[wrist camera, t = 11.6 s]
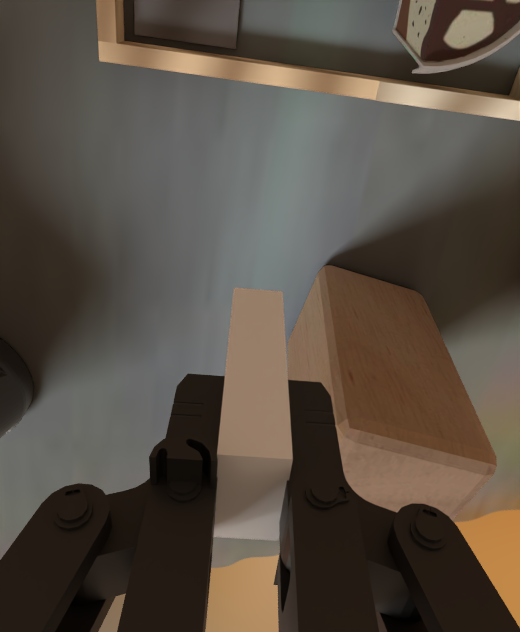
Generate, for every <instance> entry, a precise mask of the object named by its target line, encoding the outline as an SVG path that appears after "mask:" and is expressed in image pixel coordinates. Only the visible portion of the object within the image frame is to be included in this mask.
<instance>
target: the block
mask: <svg viewBox="0 0 520 632" xmlns="http://www.w3.org/2000/svg"><path fill="white" fill-rule="evenodd" d="M288 380H297V381H311V382H321V383H322V384H323V386H324V387H325V389H326V390H327V391H328V393H329V394H330V396H331V400H332V406H333V414H334V418H335V427H336V430H337V436H338V442H339V448H340V454H341V460H342V466H343V472H344V475H345V478H346V481H347V482H348V484H349V485H350V486H351V488H352V489H353V490H354V491H355V492H356V493H357V494H358V495H359V496H360V497H362V498H363V499H365V500H366V501H368V502H371V503H373V504H375V505H378V506H380V507H383V508H386V509H389V510H392V511H394V512H398V511H399V510H400V509H401V507H404V506H406V505H409V504H411V503H417V504H426V505H429V506H432V507H435V508H437V509H439V510H440V511H442V512H443V513H444V514H446V515H447V516H449V517H450V519H451V520H453V519H454V518H455V517H456V516H457V514H458V513H459V512H460V511H461V510H462V509H463V508H464V507H465V506H466V505H467V503H468V502H469V501H470V500H471V499H472V498H473V497H474V496H475V495H476V493H477V492H478V491H479V490H480V489H481V488H482V487H483V486H484V485H485V483H486V482H487V481H488V480H489V479H490V478H491V477H492V476H493V475H494V472H495V469H496V466H497V464H496V455H495V453H494V451H493V449H492V447H491V444H490V442H489V440H488V438H487V436H486V433H485V431H484V429H483V427H482V425H481V422H480V420H479V418H478V416H477V414H476V411H475V409H474V407H473V405H472V403H471V400H470V398H469V396H468V394H467V392H466V390H465V387H464V385H463V383H462V381H461V379H460V376H459V374H458V372H457V370H456V368H455V365H454V363H453V361H452V359H451V357H450V354H449V352H448V350H447V348H446V346H445V343H444V341H443V339H442V337H441V335H440V332H439V330H438V328H437V326H436V324H435V321H434V319H433V317H432V315H431V313H430V310H429V308H428V306H427V304H426V302H425V300H424V297H423V296H422V295H421V294H419V293H418V292H417V291H414V290H411V289H408V288H404V287H401V286H398V285H394V284H391V283H388V282H385V281H381V280H378V279H375V278H371V277H368V276H365V275H362V274H358V273H355V272H352V271H348V270H345V269H342V268H339V267H335V266H332V265H325V266H324V267H323V268H322V269H321V270H320V271H319V272H318V274H317V276H316V279H315V281H314V283H313V286H312V288H311V290H310V292H309V295H308V297H307V299H306V302H305V304H304V306H303V308H302V311H301V313H300V315H299V318H298V320H297V322H296V325H295V327H294V329H293V331H292V334H291V336H290V338H289V341H288Z"/></svg>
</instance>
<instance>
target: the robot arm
mask: <svg viewBox="0 0 520 632" xmlns="http://www.w3.org/2000/svg"><path fill="white" fill-rule="evenodd" d="M32 397H33V383H32V379H31V376H30V373H29V371H28V369H27V367H26V365H25V364H24V362H23V361H22V359H21V358H20V357H19V356H18V354H17V353H16V352H15V351H14V350H13V349H12V348H11V347H10V346H9V345H7V344H6V343H5V342H4V341H2V340H1V339H0V438H1V437H2V436H3V435H5V434H6V433H8V432H9V431H10V430H12V429H13V428H14V427H15V426H16V425H17V424H18V423H19V422H20V420H21V419H22V417H23V416H24V414H25V412H26V411H27V409H28V407H29V406H30V404H31V401H32ZM149 463H150V479H148V480H147V481H146V482H145V483H143V484H141V485H139V486H138V487H135V488H132V489H129V490H126V491H122V492H117V493H113V494H108V495H105V493H104V492H103V491H102V490H101V489H99V488H97V487H95V486H93V485H89V484H74V485H69V486H65V487H63V488H61V489H59V490H57V491H56V492H54V493H52V494H51V495H50V496H49V497H48V498H47V499H46V500H45V501H44V502H43V503H42V504H41V505H40V507H39V508H38V510H37V511H36V512H35V514H34V515H33V516H32V518H31V519H30V520H29V522H28V523H27V525H26V526H25V527H24V529H23V530H22V531H21V533H20V534H19V536H18V537H17V538H16V540H15V541H14V542H13V544H12V545H11V546H10V548H9V549H8V551H7V552H6V553H5V555H4V556H3V557H2V559H1V560H0V632H98V631H99V629H100V627H101V625H102V623H103V621H104V619H105V617H106V615H107V613H108V611H109V609H110V607H111V605H112V602H113V601H114V599H115V597H116V596H118V595H121V594H125V593H126V595H125V600H124V604H123V608H122V613H121V617H120V622H119V626H118V631H117V632H205V629H206V618H207V607H208V595H209V583H210V573H211V562H212V547H213V537H225V538H242V539H259V540H276V541H278V537H279V532H280V554H279V560H278V565H277V570H276V575H275V581H274V585H278V617H279V632H520V628H519V626H518V625H517V623H516V621H515V620H514V618H513V617H512V615H511V613H510V612H509V610H508V608H507V607H506V605H505V603H504V602H503V600H502V599H501V597H500V596H499V594H498V592H497V590H496V589H495V587H494V586H493V584H492V582H491V581H490V579H489V577H488V576H487V574H486V572H485V571H484V569H483V568H482V566H481V564H480V563H479V561H478V560H477V558H476V556H475V555H474V553H473V551H472V550H471V548H470V546H469V545H468V543H467V542H466V540H465V538H464V537H463V535H462V534H461V532H460V531H459V529H458V527H457V526H456V525H455V523H454V522H453V521H452V520H451V519H450V517H449V516H447V515H446V514H444V513H443V512H442V511H440V510H439V509H437V508H435V507H432V506H429V505H426V504H417V503H411V504H409V505H406V506H404V507H401V509H400V510H399V511H398V512H394V511H392V510H389V509H386V508H383V507H380V506H378V505H375V504H373V503H371V502H368V501H366V500H365V499H363V498H362V497H360V496H359V495H358V494H357V493H356V492H355V491H354V490H353V489H352V488H351V486H350V485H349V484H348V482H347V481H346V478H345V475H344V472H343V466H342V460H341V454H340V448H339V442H338V436H337V430H336V427H335V418H334V414H333V406H332V400H331V396H330V394H329V393H328V391H327V390H326V389H325V387H324V386H323V384H322V383H321V382H311V381H297V380H288V373H287V357H286V341H285V325H284V309H283V293H282V291H269V290H257V289H245V288H234V292H233V302H232V312H231V321H230V331H229V341H228V351H227V361H226V371H225V376H212V375H198V374H187V375H186V377H185V378H184V379H183V380H182V381H181V382H180V384H179V385H178V386H177V389H176V394H175V398H174V404H173V407H172V412H171V417H170V421H169V425H168V430H167V434H166V439H163V440H162V441H161V442H160V443H158V444H157V445H156V446H155V447H154V449H153V451H152V452H151V454H150V456H149Z"/></svg>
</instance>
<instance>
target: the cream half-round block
mask: <svg viewBox="0 0 520 632" xmlns="http://www.w3.org/2000/svg"><path fill="white" fill-rule="evenodd" d="M392 32H393V33H394V35H395V36H396V37H397V38H398V40H399V41H400V42H401V43H402V45H403V46H404V47H405V48H406V49H407V51H408V52H409V53H410V54H411V56H412V57H413V58H414V59H415V61H416V62H417V63H418V64H419V68H418V69H414V70H412V73H418V74H430V73H437V72H445V71H449V70H453V69H456V68H460V67H463V66H467V65H470V64H472V63H475V62H477V61H479V60H481V59H483V58H485V57H488V56H489V55H491V54H492V53H494V52H496V51H497V50H499V49H500V48H502V47H503V46H505V45H506V44H508V43H509V42H510V41H511V40H512V39H514V38H515V37H516V36H517V35H518V34H520V0H399V4H398V9H397V13H396V18H395V22H394V27H393V31H392Z"/></svg>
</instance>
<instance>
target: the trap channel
mask: <svg viewBox="0 0 520 632" xmlns="http://www.w3.org/2000/svg"><path fill="white" fill-rule="evenodd" d="M96 7H97V27H98V46H99V61H103V62H110V63H117V64H124V65H132V66H139V67H146V68H153V69H160V70H167V71H174V72H181V73H188V74H196V75H203V76H210V77H217V78H224V79H231V80H238V81H245V82H252V83H260V84H267V85H274V86H281V87H288V88H295V89H302V90H309V91H316V92H324V93H331V94H338V95H345V96H352V97H359V98H366V99H373V100H376V101H382V102H389V103H397V104H404V105H411V106H418V107H425V108H432V109H439V110H446V111H454V112H461V113H468V114H475V115H482V116H489V117H496V118H503V119H510V120H518V121H520V67H519V70H518V72H517V75H516V78H515V80H514V83H513V86H512V88H511V91H510V94H509V95H502V94H495V93H488V92H481V91H474V90H467V89H460V88H453V87H446V86H439V85H432V84H425V83H418V82H411V81H404V80H397V79H390V78H382V77H375V76H368V75H361V74H354V73H347V72H340V71H333V70H326V69H319V68H312V67H305V66H298V65H291V64H284V63H277V62H270V61H263V60H256V59H249V58H242V57H235V56H228V55H221V54H214V53H207V52H200V51H193V50H186V49H179V48H172V47H165V46H158V45H151V44H144V43H137V42H130V41H124V9H123V0H96ZM239 7H240V0H134V28H135V35H141V36H148V37H155V38H162V39H169V40H176V41H183V42H190V43H197V44H204V45H211V46H218V47H225V48H232V49H236V43H237V31H238V19H239Z"/></svg>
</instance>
